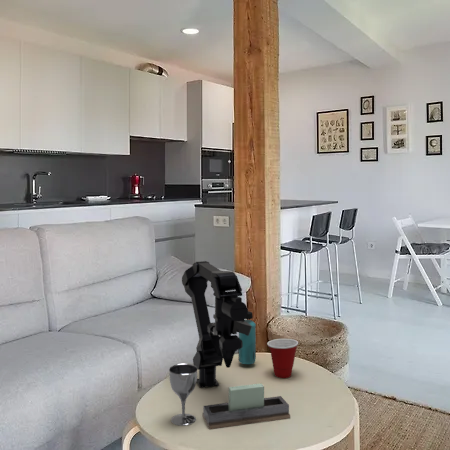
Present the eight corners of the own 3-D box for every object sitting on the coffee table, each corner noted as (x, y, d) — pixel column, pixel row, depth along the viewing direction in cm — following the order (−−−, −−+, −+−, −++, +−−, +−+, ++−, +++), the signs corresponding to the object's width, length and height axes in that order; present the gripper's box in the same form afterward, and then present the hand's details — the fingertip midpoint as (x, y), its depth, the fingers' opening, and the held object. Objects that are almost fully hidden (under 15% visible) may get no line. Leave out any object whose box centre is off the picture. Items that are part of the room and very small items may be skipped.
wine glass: (186, 429, 139) (186, 376, 137) (163, 421, 143) (163, 370, 142) (202, 417, 146) (202, 367, 144) (180, 410, 150) (180, 361, 148)
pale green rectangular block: (228, 413, 146) (228, 387, 145) (261, 409, 148) (261, 383, 148) (230, 417, 143) (231, 390, 143) (263, 413, 146) (264, 386, 145)
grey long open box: (202, 415, 146) (202, 404, 146) (279, 405, 153) (279, 394, 153) (209, 429, 139) (209, 417, 138) (290, 418, 145) (290, 406, 145)
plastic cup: (276, 366, 184) (276, 334, 183) (303, 373, 178) (303, 340, 177) (260, 376, 176) (261, 342, 174) (288, 383, 169) (288, 349, 168)
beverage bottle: (254, 369, 182) (255, 315, 180) (236, 367, 183) (236, 313, 181) (257, 362, 188) (257, 310, 186) (239, 361, 190) (240, 309, 188)
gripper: (259, 319, 148) (258, 370, 150) (240, 303, 166) (239, 349, 167) (222, 322, 145) (222, 374, 147) (207, 305, 163) (207, 352, 164)
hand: (224, 361), depth 156 cm, fingers open, 9 cm apart
